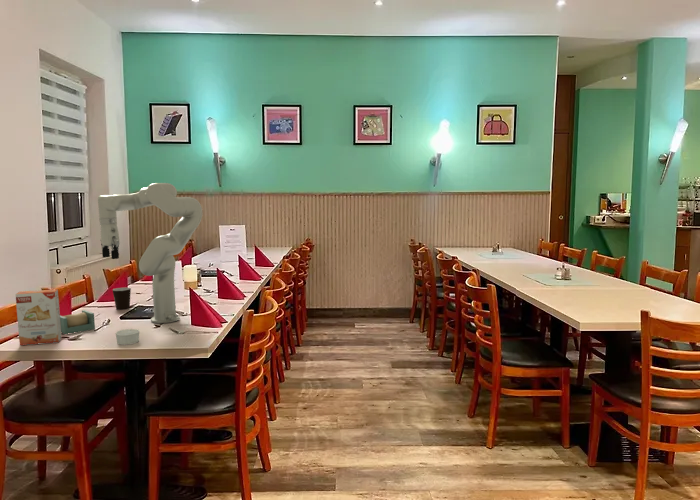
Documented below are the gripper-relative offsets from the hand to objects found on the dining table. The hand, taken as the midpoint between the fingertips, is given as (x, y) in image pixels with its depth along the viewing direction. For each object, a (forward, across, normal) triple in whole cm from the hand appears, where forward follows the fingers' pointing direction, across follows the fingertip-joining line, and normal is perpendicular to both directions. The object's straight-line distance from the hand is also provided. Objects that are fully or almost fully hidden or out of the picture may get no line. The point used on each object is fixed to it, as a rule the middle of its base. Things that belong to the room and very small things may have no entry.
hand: (110, 257), depth 259 cm
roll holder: (+28, -11, +22) cm, 37 cm away
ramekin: (+29, -48, +16) cm, 58 cm away
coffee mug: (+28, +16, -12) cm, 35 cm away
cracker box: (+28, -21, +39) cm, 53 cm away
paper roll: (+27, -11, +22) cm, 37 cm away
